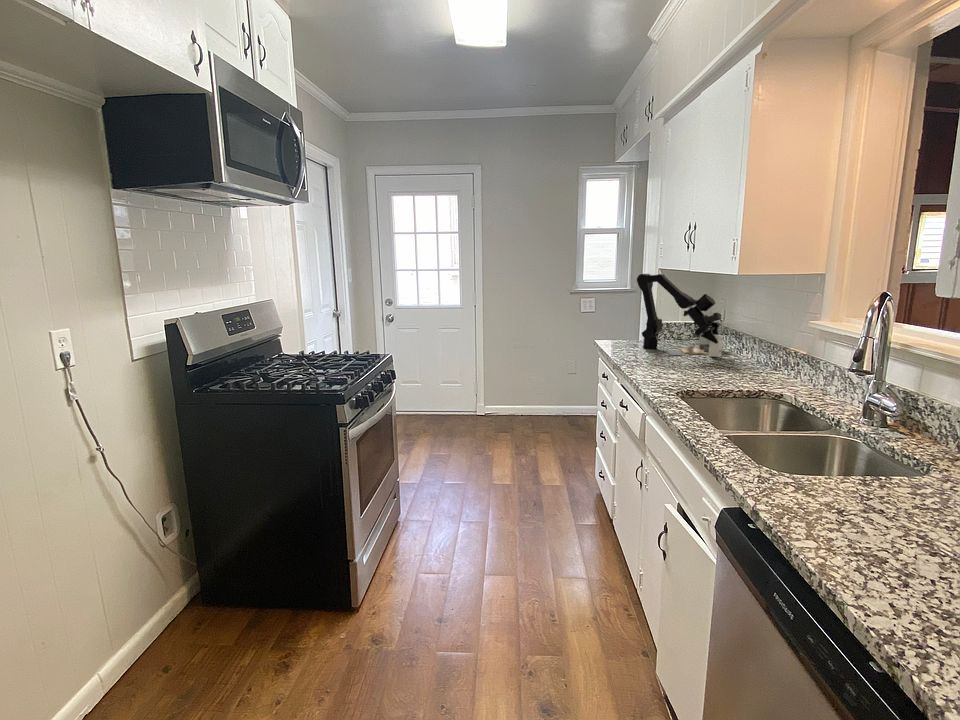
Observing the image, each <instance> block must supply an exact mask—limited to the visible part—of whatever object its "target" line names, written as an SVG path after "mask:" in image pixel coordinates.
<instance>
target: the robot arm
mask: <svg viewBox="0 0 960 720" xmlns="http://www.w3.org/2000/svg"><path fill="white" fill-rule="evenodd" d="M636 282H637V285H638V287H639V289H640V290H641V292H642V297H643V301H644V307H645V311H646V317H647V319H646V325H645V326H646V329H644V330H643V331H642V332H641V335H642V337H643V340H642V341H643V343H642V348H643V349H649V350H651V349H653V350H655V349H656V350H657V348H658V344H659V343H658V341H659V339H657V338H658V336H659V335H660V333H661V332H662V331H663V327H664V325H663V320H662V318H659V317H658V314H657V309H656V304H655V300H654V295H653V286H654V283H658V284H659V285H660V286H661V287H663V289H664V290H666V291H667V292H668V294H670V296H672V298H673V299H674V300H675V303H676V305H678V307H679V308H680V309H683V317H687V316H689V318H690V319H691V320H692V321H693V325H694V326H695V325H696V326H697V327H698V328H697V329H695V331H694V335H695V336H696V337H700V334H701V333H702V332H703V333H702V334H703V335H701V337H704V338H706V339H708V340H710V341H712V342H714V343H716V344H717V343H718V341H717V339H716V338H715V336H714V334H716V335H719V333H718V328H719V326H721V323H720V322H719V321H721V320H722V314H721V313H720V312H718V311H716V312H714V313H713V314H712V315H709V316H708V315H707V314H705V313H704V312H707V311H708V310H709V309H711V308H712V307H713V306H715V304H716V301H715V299H713V298H712V297H711V296H710V295H708V294H707V293H705V294H703V295H702V296H701V297H700V298H698V299H694V298H693V297H692V296H690V295H689V294H687V293H685V292H683V291H681V290H680V289H679V288H678V286H676V285H675V284H674V283H673V282H672V281H670V279H669V278H667V277H666V276H665V274H662V273H658V274H650V273H641V274H639V275H638V276H637V277H636ZM685 309H687V310H685Z"/></svg>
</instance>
